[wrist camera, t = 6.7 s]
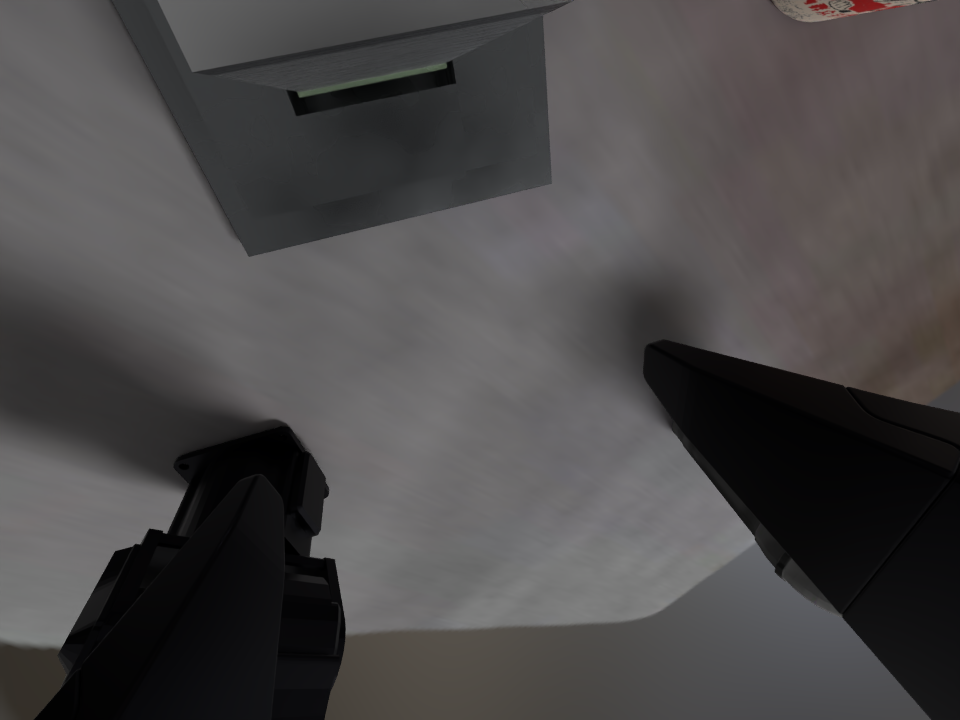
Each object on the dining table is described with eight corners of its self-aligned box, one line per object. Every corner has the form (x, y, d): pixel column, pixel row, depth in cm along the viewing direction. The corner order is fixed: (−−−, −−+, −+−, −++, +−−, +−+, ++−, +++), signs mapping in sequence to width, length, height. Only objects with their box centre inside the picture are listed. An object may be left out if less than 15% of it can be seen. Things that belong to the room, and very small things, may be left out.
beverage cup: (658, 400, 30) (1005, 746, 14) (742, 368, 30) (1172, 668, 14) (655, 459, 34) (917, 776, 18) (729, 430, 35) (1048, 715, 19)
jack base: (253, 251, 17) (222, 292, 14) (-42, -311, 9) (-320, -598, 5) (545, 180, 19) (591, 200, 15) (511, -354, 11) (592, -602, 7)
